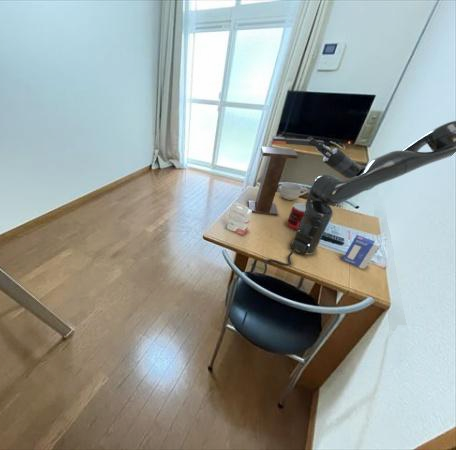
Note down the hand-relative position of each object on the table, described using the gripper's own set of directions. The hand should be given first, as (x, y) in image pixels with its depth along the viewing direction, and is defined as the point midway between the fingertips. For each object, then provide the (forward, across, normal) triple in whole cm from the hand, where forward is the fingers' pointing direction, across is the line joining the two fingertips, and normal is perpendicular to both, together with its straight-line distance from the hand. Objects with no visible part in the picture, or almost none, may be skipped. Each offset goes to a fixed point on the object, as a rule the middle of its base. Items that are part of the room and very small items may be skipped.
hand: (309, 139), depth 112 cm
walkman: (-37, +37, +23) cm, 57 cm away
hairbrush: (+4, 0, +5) cm, 7 cm away
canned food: (-21, +14, +32) cm, 41 cm away
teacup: (-25, -17, +30) cm, 43 cm away
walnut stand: (-9, 0, +39) cm, 40 cm away
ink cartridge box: (+3, +25, +46) cm, 52 cm away
